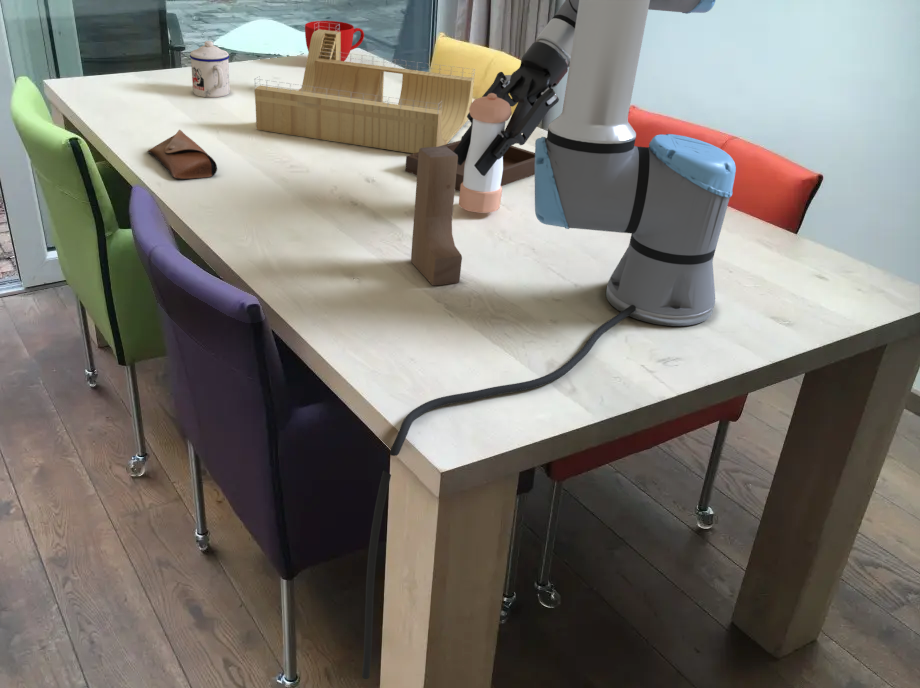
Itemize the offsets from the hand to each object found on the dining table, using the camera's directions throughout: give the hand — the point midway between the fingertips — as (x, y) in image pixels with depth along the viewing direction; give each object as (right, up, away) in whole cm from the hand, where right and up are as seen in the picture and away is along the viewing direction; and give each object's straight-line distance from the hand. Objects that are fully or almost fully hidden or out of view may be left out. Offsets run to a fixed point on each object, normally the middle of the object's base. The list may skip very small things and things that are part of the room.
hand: (467, 165), depth 153 cm
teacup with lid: (-54, +33, +62) cm, 89 cm away
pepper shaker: (+3, -6, +6) cm, 9 cm away
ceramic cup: (-27, +52, +93) cm, 110 cm away
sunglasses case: (-53, +6, +20) cm, 57 cm away
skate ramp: (-17, +23, +50) cm, 57 cm away
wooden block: (-7, -20, -15) cm, 26 cm away
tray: (+4, +5, +25) cm, 26 cm away
